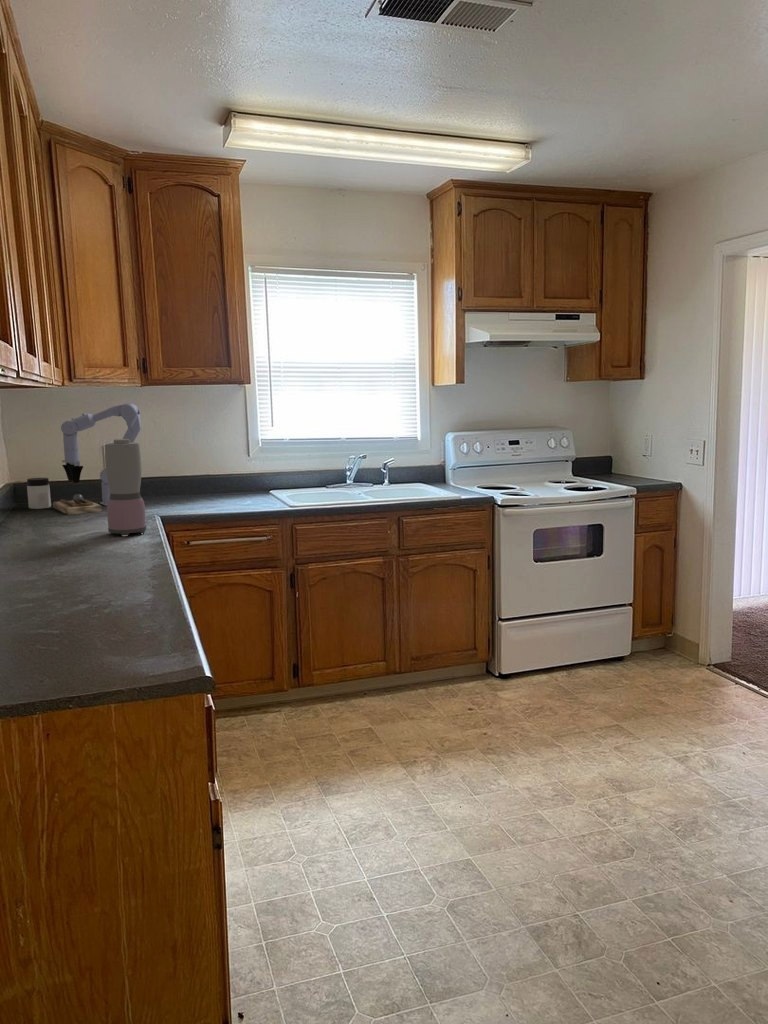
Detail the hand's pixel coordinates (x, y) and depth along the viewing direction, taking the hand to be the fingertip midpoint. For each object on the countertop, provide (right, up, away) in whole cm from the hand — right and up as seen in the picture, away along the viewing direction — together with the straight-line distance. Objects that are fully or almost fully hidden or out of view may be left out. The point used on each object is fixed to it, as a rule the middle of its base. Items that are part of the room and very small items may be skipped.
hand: (73, 481), depth 317 cm
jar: (-12, -11, -4) cm, 17 cm away
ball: (+6, -7, -11) cm, 15 cm away
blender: (+43, -20, -60) cm, 77 cm away
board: (+6, -12, -11) cm, 17 cm away
